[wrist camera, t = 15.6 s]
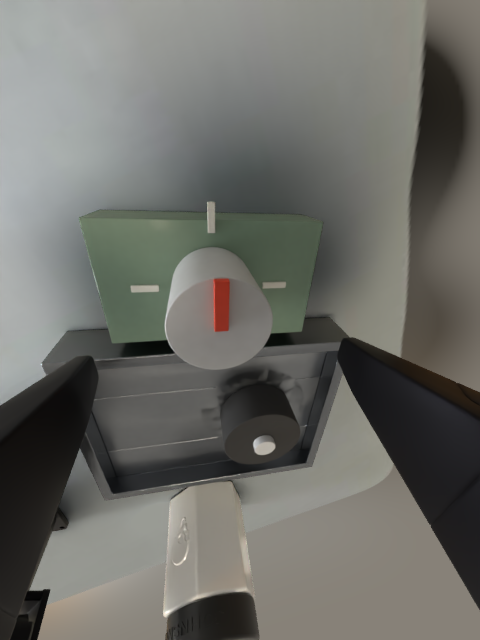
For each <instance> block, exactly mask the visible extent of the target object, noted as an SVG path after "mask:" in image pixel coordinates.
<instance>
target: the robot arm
mask: <svg viewBox="0 0 480 640" xmlns="http://www.w3.org/2000/svg"><path fill="white" fill-rule="evenodd" d="M337 360H338V363H339V365H340V367H341V369H342V371H343V374H344V376H345V378H346V380H347V382H348V384H349V387H350V389H351V391H352V393H353V395H354V397H355V398H356V400H357V402H358V404H359V405H360V407H361V409H362V410H363V412H364V414H365V415H366V417H367V419H368V421H369V422H370V424H371V426H372V427H373V429H374V431H375V432H376V434H377V436H378V438H379V439H380V441H381V443H382V444H383V446H384V448H385V449H386V451H387V453H388V455H389V456H390V458H391V460H392V461H393V463H394V465H395V466H396V468H397V470H398V471H399V473H400V475H401V477H402V478H403V480H404V482H405V484H406V485H407V487H408V488H409V490H410V492H411V494H412V495H413V497H414V499H415V501H416V502H417V504H418V505H419V507H420V509H421V511H422V512H423V514H424V516H425V518H426V519H427V521H428V523H429V524H430V525H431V528H432V530H433V531H434V533H435V535H436V537H437V538H438V540H439V541H440V543H441V545H442V546H443V548H444V550H445V552H446V554H447V555H448V557H449V559H450V560H451V562H452V564H453V565H454V567H455V569H456V571H457V572H458V574H459V576H460V577H461V579H462V581H463V582H464V584H465V586H466V587H467V589H468V591H469V593H470V594H471V596H472V598H473V600H474V601H475V603H476V604H477V606H478V608H479V610H480V392H478V391H475V390H473V389H471V388H468V387H466V386H464V385H462V384H459V383H456V382H454V381H452V380H450V379H448V378H445V377H443V376H441V375H438V374H436V373H434V372H432V371H429V370H427V369H425V368H422V367H420V366H418V365H416V364H413V363H411V362H409V361H406V360H404V359H402V358H400V357H397V356H395V355H393V354H391V353H388V352H386V351H384V350H381V349H379V348H377V347H375V346H372V345H370V344H368V343H365V342H363V341H361V340H358V339H356V338H353V337H351V338H344V339H342V341H341V344H340V347H339V350H338V354H337ZM98 381H99V375H98V371H97V368H96V365H95V362H94V359H93V357H92V356H90V355H85V356H77V357H75V358H73V359H72V360H70V361H69V362H67V363H66V364H64V365H62V366H61V367H59V368H58V369H56V370H55V371H53V372H52V373H50V374H49V375H47V376H45V377H44V378H42V379H41V380H39V381H38V382H36V383H35V384H33V385H32V386H30V387H28V388H27V389H25V390H24V391H22V392H21V393H19V394H18V395H16V396H14V397H13V398H11V399H10V400H8V401H7V402H5V403H4V404H2V405H1V406H0V640H37V638H38V635H39V631H40V627H41V623H42V619H43V616H44V611H45V608H46V604H47V600H48V597H49V593H50V589H44V590H43V591H29V589H30V587H31V584H32V582H33V579H34V576H35V574H36V571H37V569H38V566H39V564H40V561H41V558H42V556H43V553H44V551H45V548H46V546H47V543H48V540H49V538H50V535H51V533H52V531H58V530H63V529H66V528H67V526H68V524H69V523H68V521H67V520H66V518H65V517H64V515H63V514H62V512H61V511H60V509H59V508H58V506H59V503H60V500H61V497H62V495H63V492H64V489H65V487H66V484H67V481H68V478H69V476H70V473H71V470H72V467H73V465H74V462H75V459H76V456H77V454H78V451H79V448H80V445H81V443H82V440H83V437H84V435H85V432H86V429H87V426H88V423H89V419H90V415H91V411H92V407H93V402H94V398H95V394H96V390H97V385H98Z"/></svg>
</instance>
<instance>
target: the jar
mask: <svg viewBox="0 0 480 640" xmlns="http://www.w3.org/2000/svg"><path fill="white" fill-rule="evenodd" d="M254 600H255V593H254V587H253V580H252V574H251V567H250V561H249V555H248V549H247V542H246V535H245V529H244V522H243V516H242V509H241V503H240V498H239V495H238V493H237V491H236V489H235V487H234V485H233V483H232V482H231V481H221V482H215V483H209V484H203V485H197V486H191V487H188V488H187V489H185V490H184V491H182V492H181V493H180V494H178V495H177V496H176V497H174V498H173V499H171V501H170V511H169V527H168V544H167V560H166V576H165V593H164V608H163V615H164V617H166V618H168V620H167V633H166V639H165V640H259V630H258V623H257V617H256V610H255V603H254Z"/></svg>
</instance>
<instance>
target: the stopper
mask: <svg viewBox="0 0 480 640" xmlns="http://www.w3.org/2000/svg"><path fill="white" fill-rule="evenodd" d="M220 419H221V427H222V435H223V443H224V450H225V453H226V454H227V456H228V457H229V458H230V459H232V460H234V461H236V462H238V463H242V464H261V463H265V462H269V461H272V460H275V459H277V458H279V457H281V456H283V455H284V454H286V453H287V452H289V451H290V450H291V449H292V448H293V447H294V446H295V445H296V443H297V442H298V440H299V437H300V426H299V424H298V422H297V419H296V417H295V415H294V413H293V410H292V408H291V406H290V403H289V401H288V399H287V397H286V395H285V393H284V392H283V391H282V390H280V389H279V388H277V387H275V386H271V385H264V384H259V385H252V386H248V387H245V388H242V389H240V390H238V391H236V392H234V393H233V394H232V395H230V396H229V397H228V398H227V399H226V401H225V402H224V403H223V405H222V407H221V411H220Z"/></svg>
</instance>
